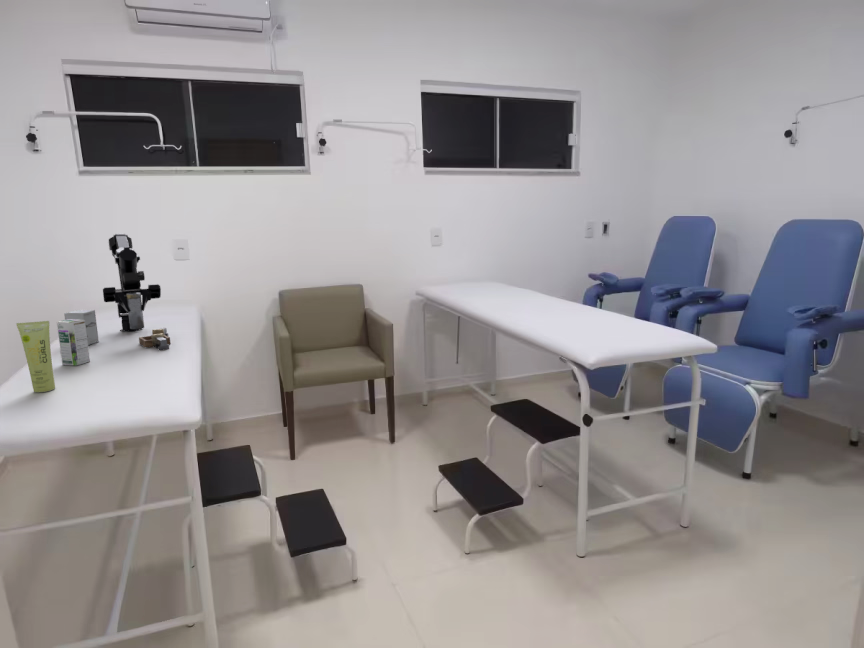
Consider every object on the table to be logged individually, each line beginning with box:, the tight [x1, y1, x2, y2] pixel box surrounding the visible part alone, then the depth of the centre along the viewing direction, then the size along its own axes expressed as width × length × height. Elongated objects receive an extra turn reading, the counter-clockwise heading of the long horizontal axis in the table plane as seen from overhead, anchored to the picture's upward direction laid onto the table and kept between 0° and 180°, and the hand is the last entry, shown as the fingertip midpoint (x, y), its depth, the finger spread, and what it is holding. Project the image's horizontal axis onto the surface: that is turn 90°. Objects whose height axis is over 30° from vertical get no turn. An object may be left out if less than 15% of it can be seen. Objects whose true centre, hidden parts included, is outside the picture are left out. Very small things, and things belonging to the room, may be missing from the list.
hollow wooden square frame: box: [138, 334, 171, 348], centre depth 203 cm, size 9×9×2 cm
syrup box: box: [56, 319, 91, 367], centre depth 176 cm, size 6×6×14 cm
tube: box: [15, 320, 56, 393], centre depth 148 cm, size 6×5×20 cm
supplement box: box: [64, 309, 100, 346], centre depth 203 cm, size 7×7×13 cm
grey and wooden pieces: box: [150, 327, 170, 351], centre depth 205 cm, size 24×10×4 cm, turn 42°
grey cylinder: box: [126, 292, 145, 330], centre depth 198 cm, size 5×5×13 cm
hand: (135, 310), depth 197 cm, fingers closed on grey cylinder, 5 cm apart
